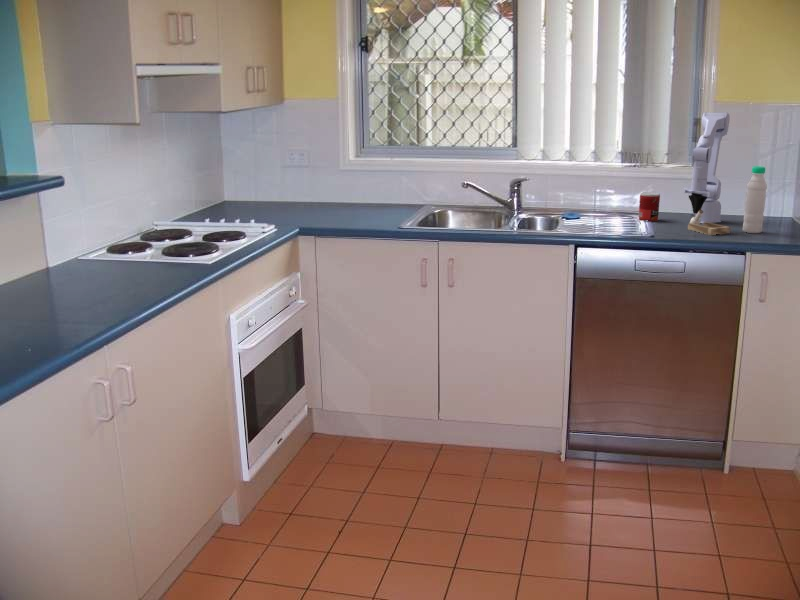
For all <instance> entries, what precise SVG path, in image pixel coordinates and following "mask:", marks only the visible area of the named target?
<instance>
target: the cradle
mask: <svg viewBox="0 0 800 600" xmlns="http://www.w3.org/2000/svg"><path fill="white" fill-rule="evenodd" d="M690 230H692V231H691V232H694V231H696V232H695V233H698V232H700V233H699V234H703V233H704V234H703V235H707V234H708V236H717V235H716V234H720V235H726V234H725V233H729V234H730V230H731V227H730V226H727V225H722V224H719V223H709V222H703V223H702V224H699V225H697V224H692V223H690V222H688V224H687V231H690Z"/></svg>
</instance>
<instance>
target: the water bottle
mask: <svg viewBox="0 0 800 600" xmlns="http://www.w3.org/2000/svg"><path fill="white" fill-rule="evenodd" d="M765 173H766V167H765V166H753V167H751V174H752V176H751V178H750V180H749V181H748V183H747V184H746V193H745V194H746V195H745V199H744V200H745V202H744V214H743V224H742V232H744V233H746V232H747V234H761V233H762V232H763V222H764V212H765V207H766V206H765V205H766V197H767V195H766V194H767V188H768V186H767V183H766V180H765V177H764V175H765Z"/></svg>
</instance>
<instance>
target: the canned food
mask: <svg viewBox="0 0 800 600" xmlns="http://www.w3.org/2000/svg"><path fill="white" fill-rule="evenodd" d="M660 198H661V194H660V193H657V192H650V191H649V192H648V191H647V192H640V194H639V204H638V205H639V206H638V207H639V208H638V220H639V221H641V220H648V221H647V222H650V221H652V222H657V221H658V220H659V213H660V212H659V210H660V203H661V202H660V200H661V199H660Z"/></svg>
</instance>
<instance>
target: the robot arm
mask: <svg viewBox="0 0 800 600" xmlns="http://www.w3.org/2000/svg"><path fill="white" fill-rule="evenodd" d="M701 117H702V118H701V126H702V132H703V134H702V135H701V136H699V139H698V142H697V143H696V144H697V145H696V147H695V148H693V149H692V152H691V162H692V163H691V166H692V172H691V185H690V187H683V194H688V199H689V200H690V203H691V207H692V214H695V216H694V217H696V215H697V213H698V211H699V210H703V214H702V216H701V217H700V220H701V222H700V224H703V222H709V223H714V224H718V223H721V222H722V221H721V214H722V213H721V211H722V203H721V201H720V200H719V199H720V197H721V190H722V183H721V180H720V179H719V178H717V176H716V172H717V166H718V161H719V160H718V159H719V153H720V148H721V147H720V146H721V142H722V139H723V137H725V136H727V135H728V132H729V128H730V127H729V126H730V113H729V112H707V111H705V112H704V113H703V114H702V116H701ZM689 194H690V195H689ZM690 221H691V219H690V220H689V222H690Z"/></svg>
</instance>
